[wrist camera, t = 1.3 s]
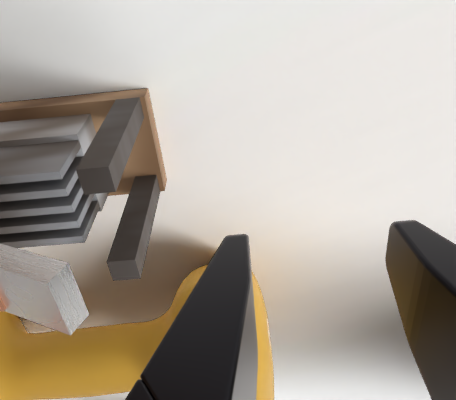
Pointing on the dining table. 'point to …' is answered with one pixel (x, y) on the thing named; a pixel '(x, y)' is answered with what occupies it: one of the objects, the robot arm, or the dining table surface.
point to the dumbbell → (103, 354)
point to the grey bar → (40, 290)
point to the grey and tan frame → (80, 172)
